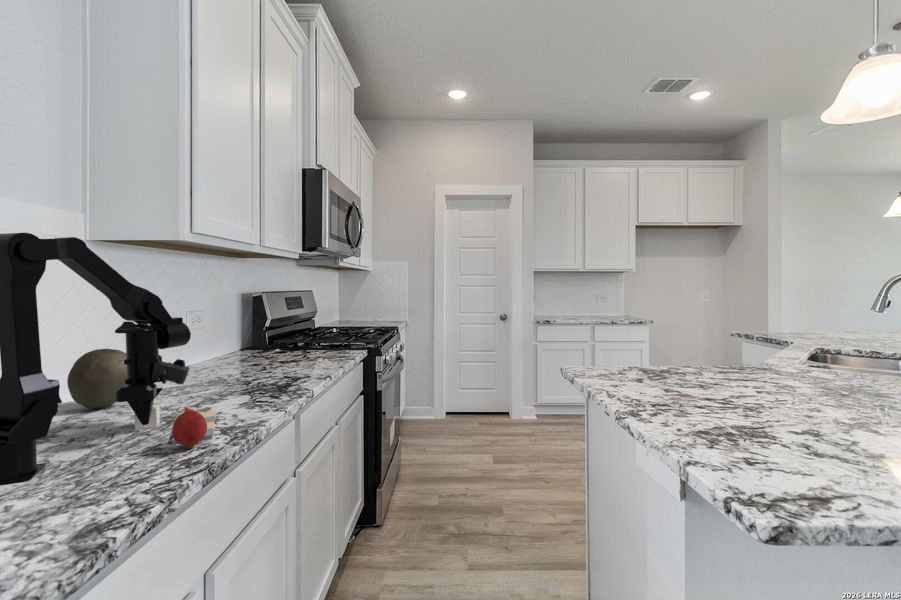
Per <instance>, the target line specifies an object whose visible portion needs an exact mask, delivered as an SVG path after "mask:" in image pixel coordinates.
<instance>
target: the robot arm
mask: <svg viewBox="0 0 901 600" xmlns="http://www.w3.org/2000/svg"><path fill="white" fill-rule="evenodd" d="M53 260H54V261H56V260H58V261H59V262H61V263H62V264H63V265H65V266H66V267H68V268H69V269H70V270H71V271H73V272H74V273H75V274H76V275H78V276H79V277H80V278H82V279H83V280H85V282H87V283H88V284H89V285H91V286H92V287H94V288H95V289H96V290H98V291H99V292H100V293H102V295H104V296H105V297H107V299H108V300H109V301H110V302H109V303H110V304H111V308H112V309H113V310H114V311H115V312H116V314H118V315H119V316H120V318H121V319H123V320H125V321H123V322H122V324H121V325H120V326H118V327H117V328H116V329H115V331H114V333H115V334H125V353H126V359H125V360H124V365H127V378H126V379H125V385H124V386H123V387H122V388H121V389H120V390H118V391H117V392H116V402H115V403H124V402H126V403H127V404H128V405H129V407H130V408H131V409H132V411H133V413H134V415H135V414H136V416H137V417H138V419H139V421H140V422H141V424H142V425H147V424H148V423H149V420H150V415H151V411H152V406H153V405H154V400H155V398H156V397H158V395H159V394H160V393H161V392H162V390H163V387H157V384H156V383H161V384H162V385H165V384H167V382H173V383H175V384H178V385H184V383H185V382H186V379H187V377H188V375H189V372H190V370H191V369H190V367H189V366H186V361H185V360H183V359H181V358H177V359H176V360H175V361H174V362H173V363H172V362H167V361H166V362H165V361H163V357H162V355H161V354H159V350H164V349H172V348H177V347H183V346H186V345H187V344H188V343H189V342H190V340H191V335H192V334H191V331H190V328H189V327H188V325H187V324H186V323H185V322H184V321H183V320H184V319H183V317H172V316H171V315H170V313H169V312H168V311H167V309H166V308H165V306H164V305H163V300H162V299H161V298H160V296H159V295H157V294H155V293H153V292H151V291H150V290H149V289H146V288H143V287H141V286H139V285H136V284H134V283H132V282H130V281H129V280H128V279H126V278H125V277H124V276H123V275H121V274H120V273H119V272H118V271H117V270H116V269H114V268H113V267H112V266H110V264H108V263H107V262H106V261H105V260H104V259H102V258H101V257H100V256H99V255H98V254H97V253H95V252H94V251H93V250H91V249H90V248H89V247H88V245H87V244H86V242H85V240H82V239H81V238H78V237H74V236H72V237H71V236H70V237H69V236H68V237H55V238H39V237H38V236H37V235H34V234H33V233H31V232H30V233H29V232H13V233H12V232H11V233H0V369H1V376H0V485H2V484H8V483H16V482H22V481H29V480H32V479H33V478H35V477H36V475H38V473H40V472H41V471H42V470H43V469H44V468H45V467H46V463H45V462H43V463H42V462H41V463H38V460H37V459H38V458H37V456H38V455H37V440H40V439H41V438H45V437H47V436H48V433H49V431H50V427H51V424H52V421H53V418H54V417H55V416H57V413H58V411H59V404H62V403H63V401H62V399H61V397H60V387H61V384H60V380H58V379H50V378H49V379H48V378H47V377H46V375H45V374H44V372H43V369H42V368H43V367H42V354H41V341H40V330H39V328H40V327H39V313H38V297H37V286H38V284H39V283H40V281H41V279H42V277H43V275H44V274H45V272H46V268H47V261H53Z"/></svg>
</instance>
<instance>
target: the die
mask: <svg viewBox="0 0 901 600" xmlns="http://www.w3.org/2000/svg"><path fill="white" fill-rule="evenodd" d="M160 416H161V413H160V404H153V406H152V411H151V415H150V420H149V423H148V424H147V425H142V424H141V422H140V421H139V419H138V417H137V416H136V414H135V413H134V430H139V429H140V430H141V429H147V428H148V429H149V428H150V429H151V428H156V427H158V426H159V424H160V422H161V417H160Z"/></svg>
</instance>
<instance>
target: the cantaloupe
mask: <svg viewBox="0 0 901 600" xmlns="http://www.w3.org/2000/svg"><path fill="white" fill-rule="evenodd" d="M125 359H126V352H124V351H122V350H120V349H112V348H99V349H93V350H91V351H88V352H85V353H84V354H83V355H81V356H79V358H78V359H76V361H74V363H73V365H72V367H71V369H70V371H69V373H68V375H67V382H66V383H67V389H68V391H69V394H70V397H71V398H72V400H73V401H74V402H75V403H77V405H80V406H82V407H85V408H88V409H93V410H94V409H96V410H97V409H101V408H105V407H108V406H112V405H113V404H115V403H117V402H116V392H117V391H118V390H120V389H121V388H122V387H123V386H124V385H125V379H126V378H127V365H124V360H125Z"/></svg>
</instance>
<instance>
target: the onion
mask: <svg viewBox="0 0 901 600" xmlns="http://www.w3.org/2000/svg"><path fill="white" fill-rule="evenodd" d="M206 432H207V422H206V420H205V418H204V417H203V416H202V415H201V414H200V412H198V411H196V410H194V408H192V407H190V406H185V408H184V412H182V413H181V414H180V415H179V416H177V418H176V419H175V420H174V422H173V424H172V429H171V434H172V435H171V436H172V438H174V440H175V441H177V442H178V445H181V446H183V447H184V448H186V449H189V450H190V449H192V448H194V447H195V446H196V445H198V444H199V443H200V442H201V441H203V440H202V439H203V438H204V436H205V434H206Z"/></svg>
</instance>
